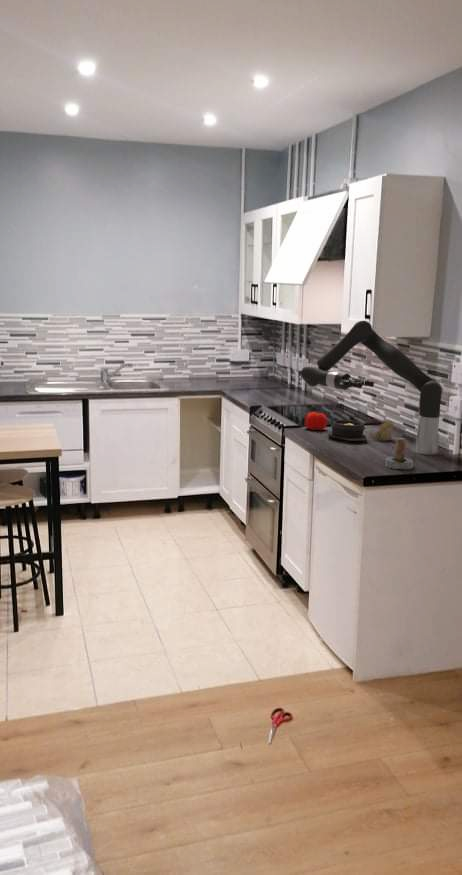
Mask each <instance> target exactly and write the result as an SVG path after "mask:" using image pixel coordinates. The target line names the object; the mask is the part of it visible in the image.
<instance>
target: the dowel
mask: <svg viewBox="0 0 462 875" xmlns="http://www.w3.org/2000/svg"><path fill="white" fill-rule="evenodd" d="M406 444H407V439H406V438H402V437H397V438H396V443H395V451H394V457H395V459H394V460H395V461H404V458H405V456H406V447H407V446H406Z"/></svg>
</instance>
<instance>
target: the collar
mask: <svg viewBox="0 0 462 875" xmlns="http://www.w3.org/2000/svg"><path fill="white" fill-rule="evenodd" d="M394 459H395V456H387V457H386V458H385V462H384V463H385V464H384V466H385V467H387V469H391V468H392V470H397V469H405V470H404V471H408V470H407V469H409V470H412V469H413V464H414V460H413V459H411V458H408V457H404V461H395V460H394ZM411 468H412V469H411Z"/></svg>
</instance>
